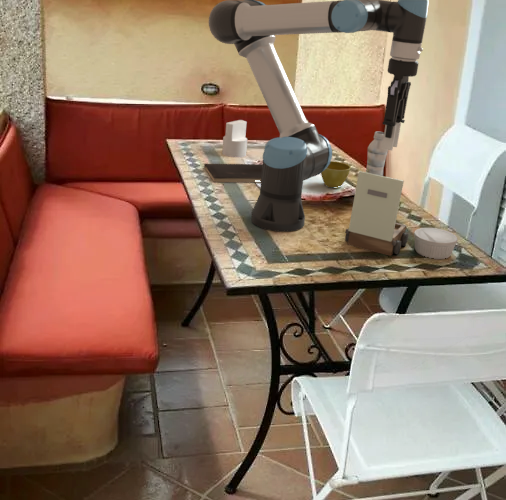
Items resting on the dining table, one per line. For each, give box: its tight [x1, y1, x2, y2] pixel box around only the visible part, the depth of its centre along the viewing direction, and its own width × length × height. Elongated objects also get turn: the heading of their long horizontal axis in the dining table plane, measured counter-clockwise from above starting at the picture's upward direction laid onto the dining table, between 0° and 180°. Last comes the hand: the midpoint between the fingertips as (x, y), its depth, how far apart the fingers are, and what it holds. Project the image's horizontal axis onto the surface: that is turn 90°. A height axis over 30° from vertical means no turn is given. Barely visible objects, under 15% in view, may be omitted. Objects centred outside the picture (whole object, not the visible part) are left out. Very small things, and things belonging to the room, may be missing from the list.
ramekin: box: [413, 227, 458, 260], centre depth 188 cm, size 11×11×5 cm
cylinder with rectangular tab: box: [221, 119, 248, 158], centre depth 260 cm, size 9×9×12 cm
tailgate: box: [348, 170, 405, 242], centre depth 181 cm, size 1×12×16 cm, turn 64°
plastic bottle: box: [365, 131, 389, 176], centre depth 230 cm, size 6×7×20 cm
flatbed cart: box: [344, 222, 409, 257], centre depth 190 cm, size 13×14×5 cm
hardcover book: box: [203, 163, 263, 183], centre depth 238 cm, size 16×23×2 cm
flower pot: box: [320, 160, 352, 188], centre depth 235 cm, size 10×10×7 cm
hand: (389, 147), depth 190 cm, fingers open, 4 cm apart
